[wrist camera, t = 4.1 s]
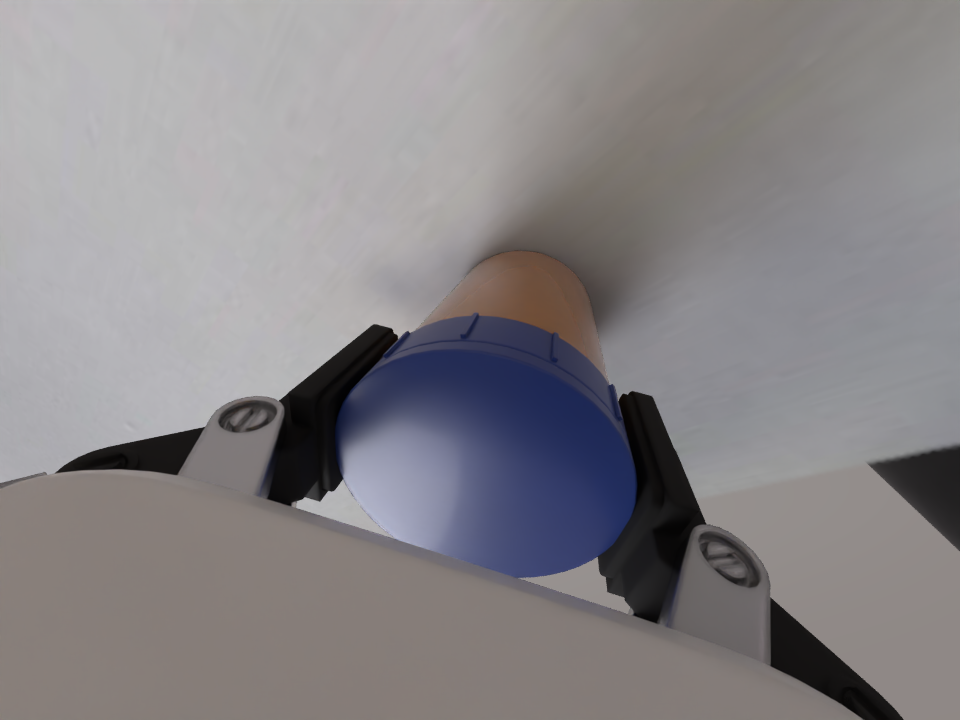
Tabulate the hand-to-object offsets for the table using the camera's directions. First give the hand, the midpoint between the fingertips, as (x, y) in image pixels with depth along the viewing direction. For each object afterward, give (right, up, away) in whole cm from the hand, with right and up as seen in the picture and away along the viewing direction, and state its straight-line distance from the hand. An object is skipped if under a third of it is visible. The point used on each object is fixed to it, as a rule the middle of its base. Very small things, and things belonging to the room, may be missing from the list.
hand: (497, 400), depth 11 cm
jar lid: (-1, -1, -3) cm, 3 cm away
